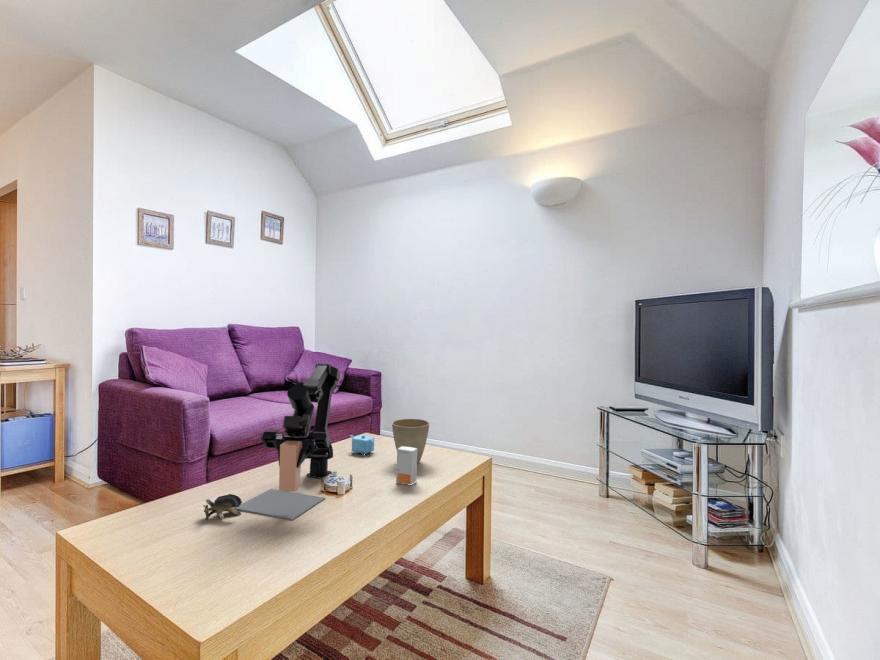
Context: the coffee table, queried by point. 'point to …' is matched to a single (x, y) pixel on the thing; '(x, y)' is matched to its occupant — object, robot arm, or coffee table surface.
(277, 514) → the mat
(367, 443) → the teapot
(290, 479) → the block
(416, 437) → the plant pot
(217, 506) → the grey brown animal figure
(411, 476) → the skincare box
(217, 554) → the coffee table surface
